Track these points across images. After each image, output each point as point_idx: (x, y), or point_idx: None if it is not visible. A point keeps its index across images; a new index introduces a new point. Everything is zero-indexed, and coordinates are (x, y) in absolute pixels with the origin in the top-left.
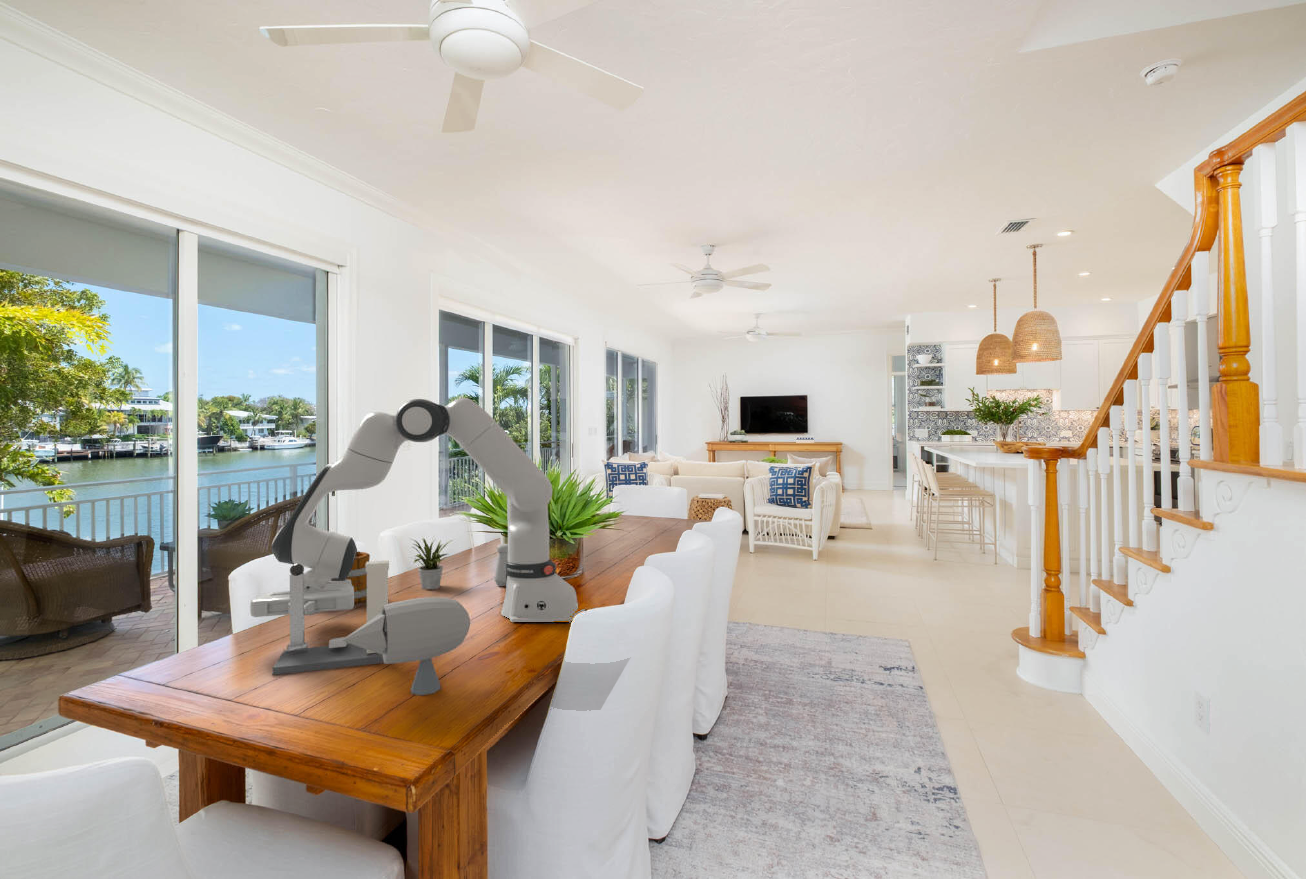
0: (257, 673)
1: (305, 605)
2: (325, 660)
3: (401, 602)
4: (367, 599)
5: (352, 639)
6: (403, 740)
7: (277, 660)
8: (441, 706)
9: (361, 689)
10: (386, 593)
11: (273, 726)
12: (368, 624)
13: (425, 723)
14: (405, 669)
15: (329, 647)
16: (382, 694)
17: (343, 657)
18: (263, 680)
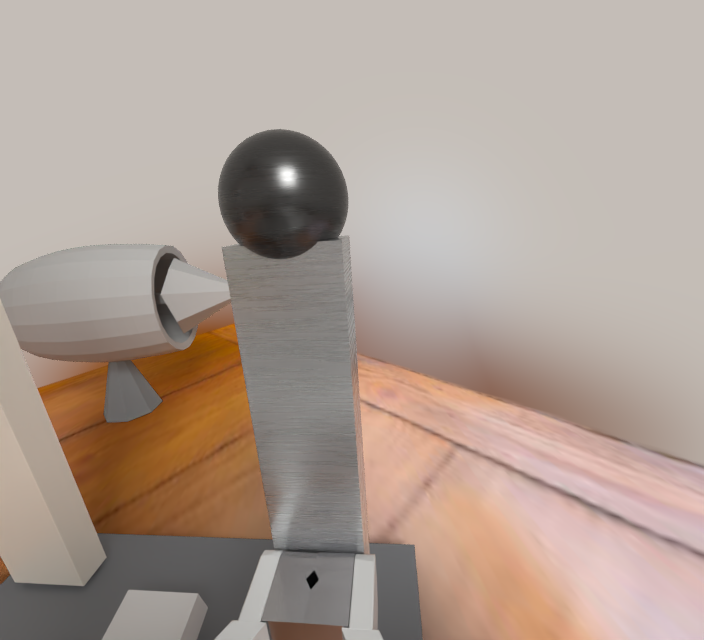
0: (479, 604)
1: (254, 601)
2: (245, 555)
3: (133, 244)
4: (26, 370)
5: None
6: (232, 341)
7: (421, 629)
8: (159, 371)
9: (219, 426)
10: None
11: None
12: (202, 271)
13: (198, 353)
14: (85, 486)
15: (204, 607)
16: (199, 406)
17: (183, 564)
18: (427, 528)
